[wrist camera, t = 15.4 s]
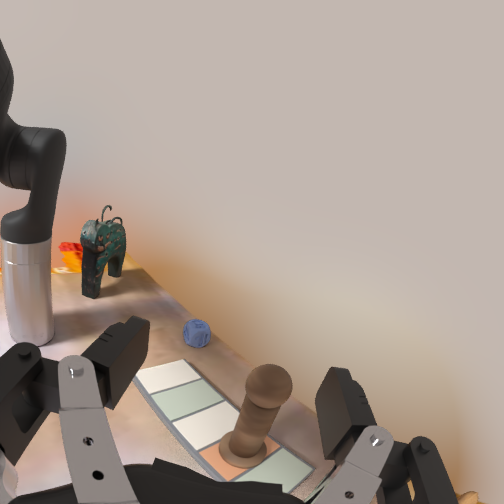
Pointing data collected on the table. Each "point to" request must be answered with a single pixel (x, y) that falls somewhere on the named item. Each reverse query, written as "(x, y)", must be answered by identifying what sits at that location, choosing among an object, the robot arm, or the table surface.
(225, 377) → the table surface
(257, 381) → the pawn
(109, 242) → the ceramic cat
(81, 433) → the robot arm
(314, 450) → the table surface
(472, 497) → the lion figurine
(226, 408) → the game board
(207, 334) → the decorative dice
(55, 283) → the table surface
